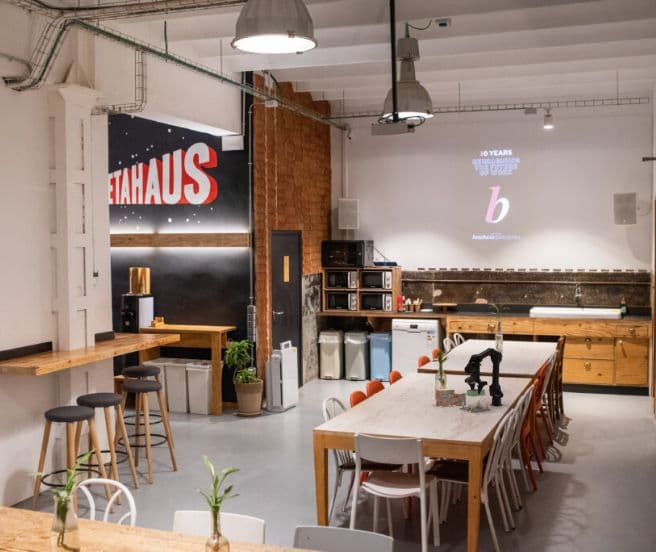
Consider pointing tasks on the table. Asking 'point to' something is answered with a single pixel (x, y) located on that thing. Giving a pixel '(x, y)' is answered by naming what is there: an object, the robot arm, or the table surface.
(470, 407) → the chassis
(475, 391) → the board
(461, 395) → the stack of blocks
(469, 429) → the table surface
